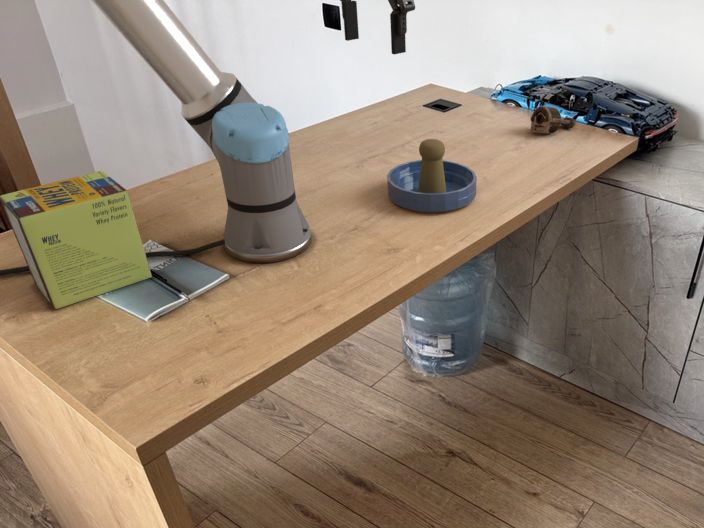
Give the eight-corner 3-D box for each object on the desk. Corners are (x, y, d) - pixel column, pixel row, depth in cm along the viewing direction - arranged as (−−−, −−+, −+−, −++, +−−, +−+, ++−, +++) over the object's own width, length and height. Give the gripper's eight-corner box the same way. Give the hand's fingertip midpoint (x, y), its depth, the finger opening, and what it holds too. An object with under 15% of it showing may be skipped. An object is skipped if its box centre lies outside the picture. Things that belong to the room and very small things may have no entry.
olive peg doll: (428, 184, 144) (427, 133, 137) (452, 191, 141) (452, 139, 135) (412, 194, 140) (410, 142, 133) (436, 201, 137) (436, 148, 131)
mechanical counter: (522, 105, 175) (536, 108, 166) (568, 98, 177) (584, 100, 168) (525, 134, 178) (539, 138, 169) (569, 126, 180) (585, 130, 172)
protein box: (154, 277, 112) (128, 189, 103) (55, 310, 103) (17, 218, 94) (128, 254, 118) (102, 169, 109) (33, 284, 109) (-4, 194, 100)
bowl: (429, 224, 131) (429, 202, 128) (370, 195, 141) (369, 174, 138) (493, 197, 141) (494, 177, 139) (433, 172, 151) (433, 153, 149)
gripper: (435, -85, 108) (435, 55, 121) (340, -96, 122) (349, 31, 134) (399, -84, 103) (403, 62, 116) (305, -95, 117) (318, 36, 130)
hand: (374, 46), depth 125 cm, fingers open, 13 cm apart
